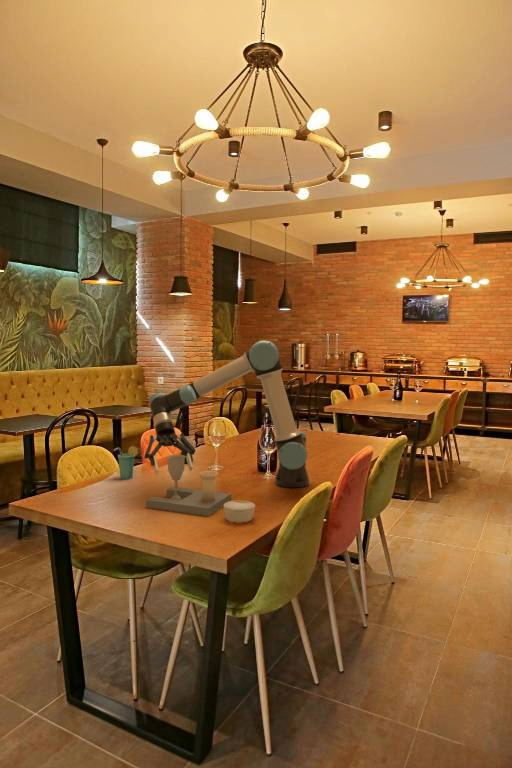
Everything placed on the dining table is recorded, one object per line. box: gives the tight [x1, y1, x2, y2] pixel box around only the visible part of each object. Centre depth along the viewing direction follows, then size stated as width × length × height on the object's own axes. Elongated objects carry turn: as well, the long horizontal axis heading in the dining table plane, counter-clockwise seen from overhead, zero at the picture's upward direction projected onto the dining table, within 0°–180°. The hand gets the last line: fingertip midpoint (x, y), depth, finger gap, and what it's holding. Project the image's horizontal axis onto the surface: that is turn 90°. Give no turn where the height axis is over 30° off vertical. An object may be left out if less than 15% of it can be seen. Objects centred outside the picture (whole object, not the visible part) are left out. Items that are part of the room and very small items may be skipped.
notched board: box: [145, 470, 232, 517], centre depth 210 cm, size 26×20×13 cm
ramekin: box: [222, 500, 256, 524], centre depth 195 cm, size 11×11×5 cm
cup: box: [112, 445, 139, 480], centre depth 248 cm, size 14×8×15 cm, turn 149°
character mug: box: [177, 435, 197, 464], centre depth 281 cm, size 11×7×13 cm, turn 71°
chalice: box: [166, 454, 186, 500], centre depth 212 cm, size 7×7×18 cm
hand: (174, 470), depth 213 cm, fingers open, 13 cm apart
